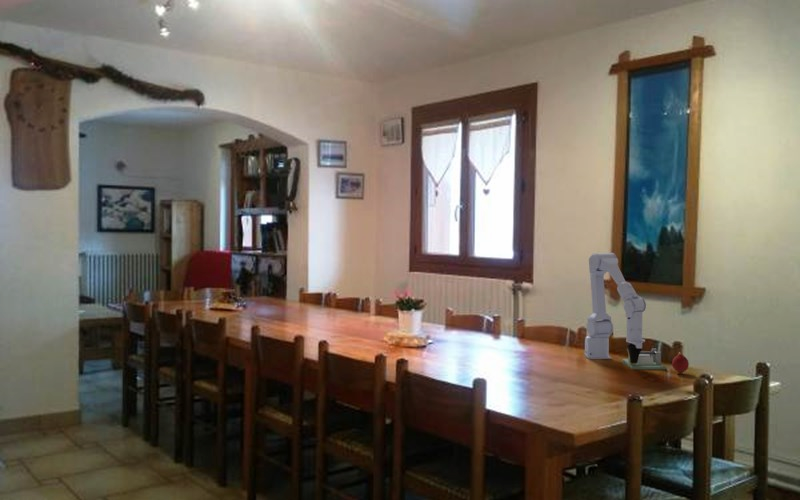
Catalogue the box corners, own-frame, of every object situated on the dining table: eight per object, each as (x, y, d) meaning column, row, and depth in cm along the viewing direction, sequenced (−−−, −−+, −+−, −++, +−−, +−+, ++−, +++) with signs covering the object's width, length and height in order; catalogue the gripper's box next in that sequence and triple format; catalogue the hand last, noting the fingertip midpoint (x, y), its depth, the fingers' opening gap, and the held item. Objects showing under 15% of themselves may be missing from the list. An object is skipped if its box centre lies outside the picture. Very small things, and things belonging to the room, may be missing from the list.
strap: (630, 354, 267) (630, 352, 267) (627, 352, 271) (627, 349, 271) (659, 355, 266) (659, 352, 266) (655, 353, 270) (655, 350, 270)
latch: (629, 364, 266) (629, 351, 265) (626, 362, 270) (626, 349, 270) (635, 364, 265) (636, 351, 265) (632, 362, 270) (633, 349, 270)
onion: (688, 372, 256) (689, 351, 256) (688, 375, 251) (688, 354, 251) (672, 371, 259) (672, 350, 258) (671, 374, 254) (671, 353, 253)
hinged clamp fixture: (631, 369, 262) (631, 354, 262) (621, 361, 276) (622, 346, 276) (665, 369, 261) (665, 354, 261) (654, 361, 275) (654, 346, 275)
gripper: (650, 332, 256) (649, 367, 256) (639, 325, 270) (639, 358, 271) (631, 331, 256) (631, 367, 257) (621, 325, 270) (621, 358, 271)
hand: (633, 363), depth 264 cm, fingers closed
